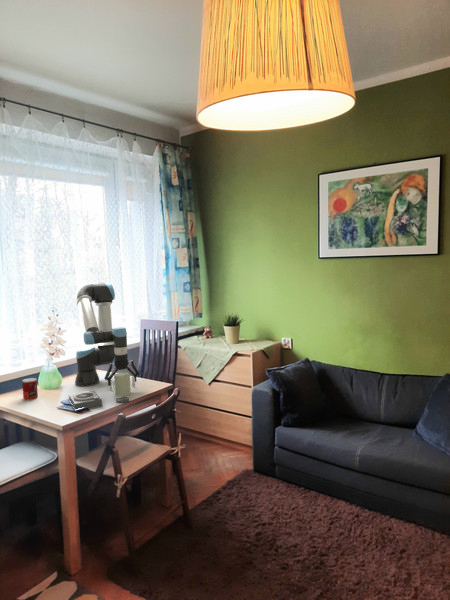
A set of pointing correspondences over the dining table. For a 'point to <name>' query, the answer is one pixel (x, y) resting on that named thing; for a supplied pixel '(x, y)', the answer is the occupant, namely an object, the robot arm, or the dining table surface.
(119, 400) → the lens cap
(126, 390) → the can
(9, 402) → the dining table surface
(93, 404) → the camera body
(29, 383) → the canned food
